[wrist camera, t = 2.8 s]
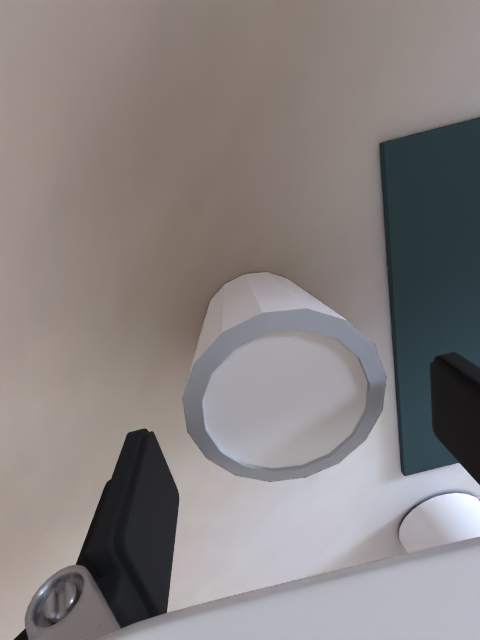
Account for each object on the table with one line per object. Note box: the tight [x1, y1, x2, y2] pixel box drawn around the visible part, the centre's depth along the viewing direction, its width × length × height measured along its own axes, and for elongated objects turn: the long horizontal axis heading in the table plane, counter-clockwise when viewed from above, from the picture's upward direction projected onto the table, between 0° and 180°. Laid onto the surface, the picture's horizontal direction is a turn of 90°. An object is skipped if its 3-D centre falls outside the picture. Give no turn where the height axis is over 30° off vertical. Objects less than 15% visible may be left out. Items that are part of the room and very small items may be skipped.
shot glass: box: [182, 272, 387, 482], centre depth 14 cm, size 7×7×7 cm
